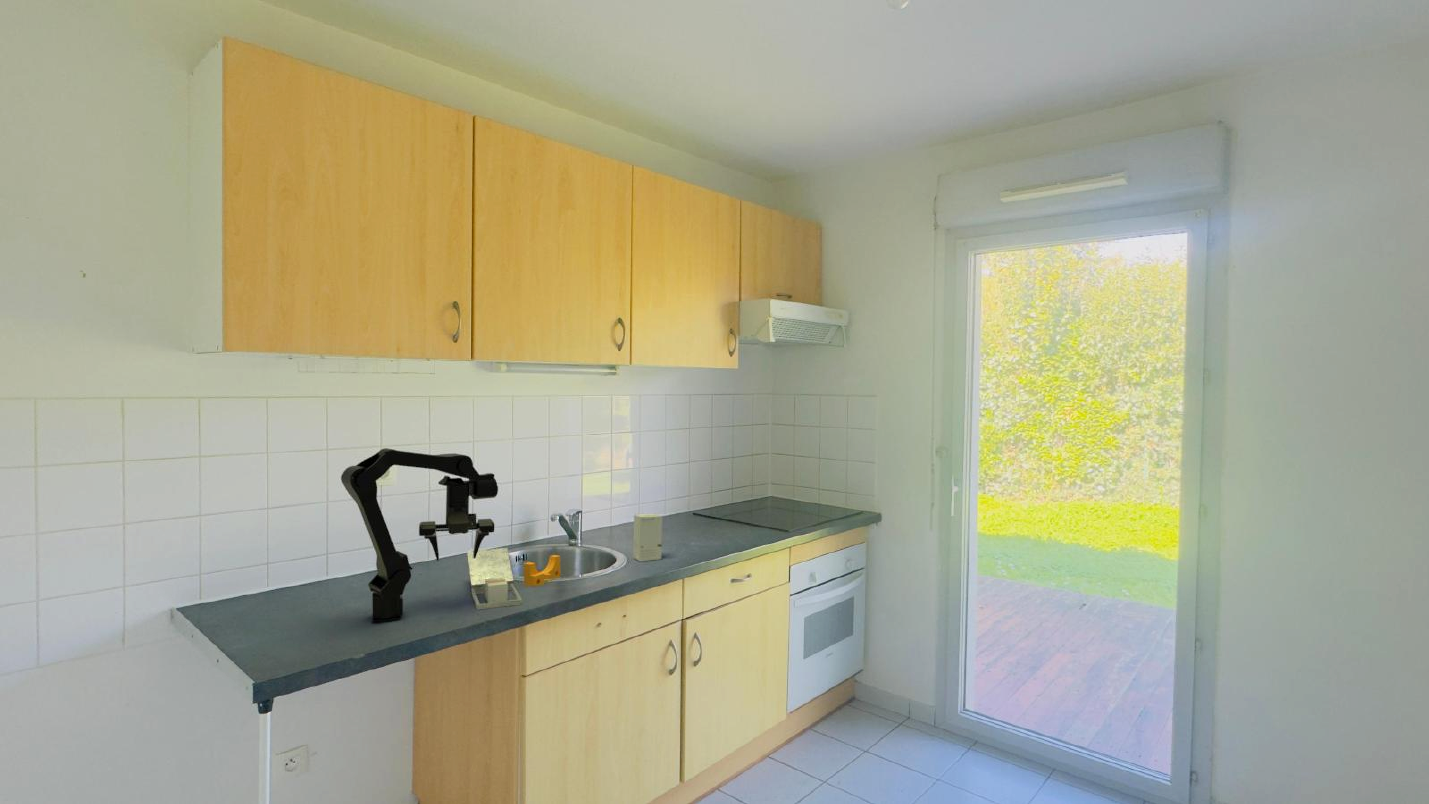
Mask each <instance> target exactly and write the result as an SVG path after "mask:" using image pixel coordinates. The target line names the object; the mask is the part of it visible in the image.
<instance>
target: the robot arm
mask: <svg viewBox="0 0 1429 804" xmlns="http://www.w3.org/2000/svg"><path fill="white" fill-rule="evenodd" d="M393 466H402V467H408V468H409V467H411V468H420V469H429V470H435V471H439V472H440V473H441V472H442V473H444V474H448V475H451V476H457V477H450V476H448V475H444V477H443V478H442V479H440V480H439V481H438V484H439V485H440V486H446V491H445V492H446V495H445V498H446V499H445V501H446V503H445V523H443V524H442V523H440V524H439V523H438V524H436V521H433V520H431V521H421V522H419V524H418V536H421V537H424V539H425V540H428V541H429V542H430V544H431V545H432V550H433V552H434V555H435V558H436V561H437V562H438V561H439V559H440V554H439V547H438V538H437V537H438V536H437V532H448V533H449V535H455V534H464V535H465V534H468V533H469V531H472V530H473V531H475V530H476V531H475V538H474V545H473V550H472V551H473V558H476V555H477V552H478V550H479V549H480V546H481V544H482V542H483V540H484V538H485V537H486V536H489V535H490V533H495V522H494V521H493V520H492V519H491V518H480V519H479V518H478V519H477V513H469V512H470V511H469V510H470V509H469V508H470V507H469V506H470V497H471V498H472V500H483V499H493V498H494V499H495V498H496V497H497V496H498V493H499V486H498V482H497V480H496V478H495V474H494V473H491V472H487V473H482V474H479V472H478V471H477V470H476V468H475V467H474V464H473V460H472V458H471V457H470V456H469V455H466V454H460V453H441V454H429V453H428V454H427V453H420V452H411V451H404V450H396V449H391V448H382V449H380V450H379V451H378V452H376V453H374V454H373V455H372V456H370V457H367V458H366V459H363V460H362V461H360V462H358V464H356V465H350V466H349V467H347V468H345V470H344V471H343V472H342V474H341V476H340V480H341V481H340V482H341V484H342V485H343V486H344V488H345V490H346V491H347V492H348V494H349V495H350V497H351V498H352V499H353V501H354V502H355V503H356V505H357V507H358V509H359V512H360V514H361V517H362V521H363V522H364V525H365V527H366V530H367V533H368V536H369V539H370V540H371V543H372V546H373V549H374V551H375V554H376V555H375V556H376V563H375V567H376V572H377V574H376V575H375V576H374V577H373V578H372V579H371V580H370V581H369V582H368V585H367V586H368V588H369V590H370V592H371V593H372V594H371V595H372V596H371V597H372V599H371V600H372V603H371V604H372V606H371V607H372V609H371V610H372V613H371V614H372V615H371V623H373V624H374V623H383V622H391V621H399V620H400V621H401V619H402V616H403V614H404V598H403V597H404V596H403V594H404V592H405V589H406V586H407V584H408V583H409V582H410V580H411V578H412V572H411V571H412V570H413V567H412V566H411V565H410V561H409V557H408V554H405V553H403V552H401V551H398V550H397V549H396V547H395V545H394V542H393V540H392V536H391V534H390V530H389V529H388V526H387V523H386V521H385V518H384V516H383V513H382V510H381V507H380V504H379V502H378V484H377V481H378V480H379V479H381V478H382V476H384V475H385V474H386V472H387V471H389V469H390V468H392V467H393ZM462 478H464V479H468V480H463V479H462Z"/></svg>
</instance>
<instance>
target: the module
mask: <svg viewBox="0 0 1429 804" xmlns="http://www.w3.org/2000/svg"><path fill="white" fill-rule="evenodd" d="M508 595H509V594H508V584H507V582H506V580H505V578H504V577H501V578H492V579H485V593H484V597H485V600H486V602H487V603H492V602H500V601H509V600H508V597H509V596H508Z"/></svg>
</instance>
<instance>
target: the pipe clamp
mask: <svg viewBox="0 0 1429 804" xmlns="http://www.w3.org/2000/svg"><path fill="white" fill-rule="evenodd" d="M559 577H561V555H557V554H552V555H550V556H549V559H548V563H547V565H546V567H545V568H544V569H543V570H541V571H538V568H537V567H536V562H531V561H527V562H524V563H523V584H524V586H530V587H532V586H533V588H536V587H539V586H542V585H545V584H544V583H545V582H548V581H550V580H544V579H551V580H554V579H557V578H559ZM538 585H539V586H538ZM535 586H536V587H535Z"/></svg>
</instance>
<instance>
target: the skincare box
mask: <svg viewBox="0 0 1429 804" xmlns="http://www.w3.org/2000/svg"><path fill="white" fill-rule="evenodd" d="M662 535H663V515H661V514H658V513H640V514H638V513H637V514H634V515H633V553H632V554H633V556H632V557H633V559H635V560H636V561H637V562H639V563H641V562H648V561H656V560H657V561H658V560H661V559H662V547H663V546H662V543H663V542H662V539H663V536H662Z"/></svg>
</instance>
